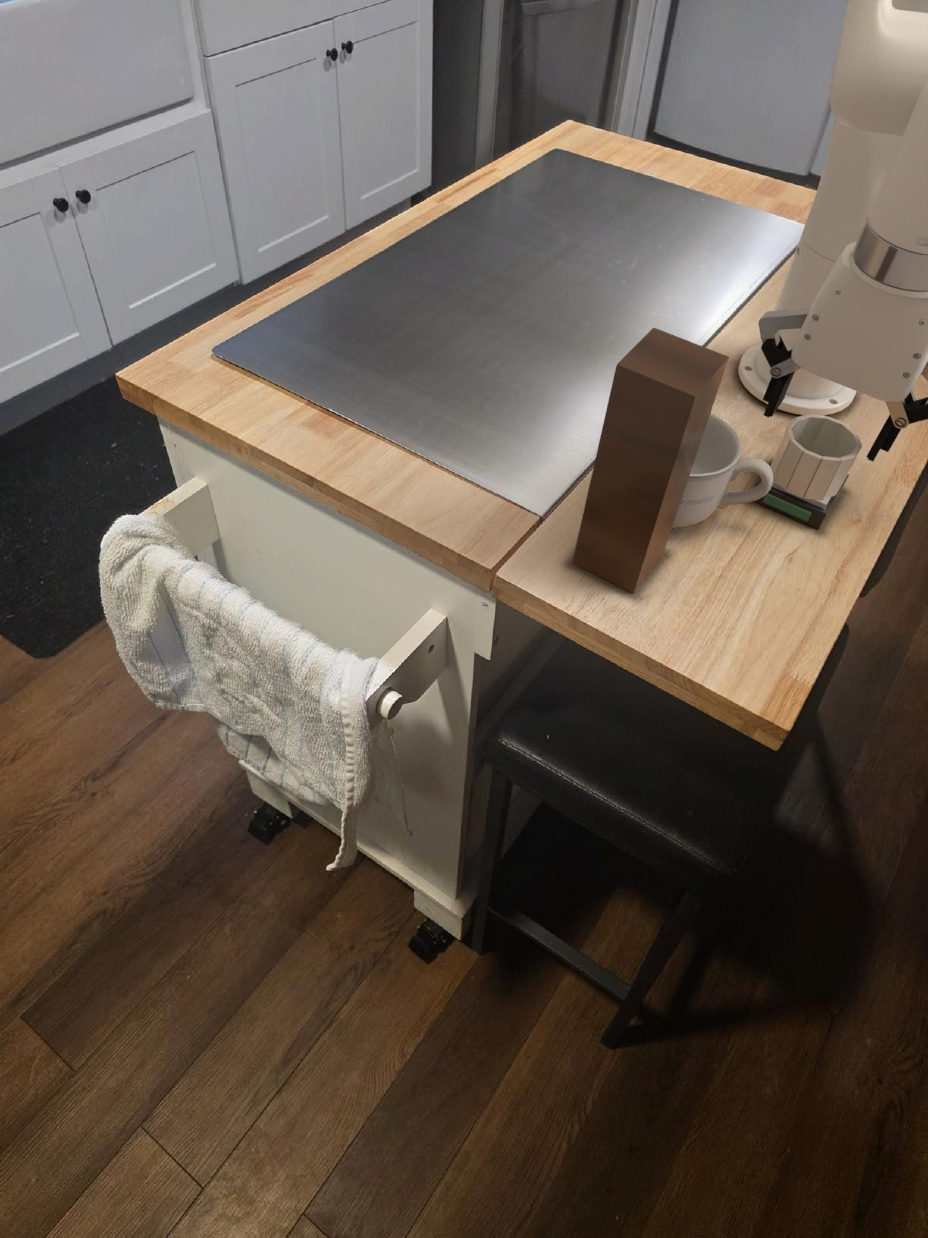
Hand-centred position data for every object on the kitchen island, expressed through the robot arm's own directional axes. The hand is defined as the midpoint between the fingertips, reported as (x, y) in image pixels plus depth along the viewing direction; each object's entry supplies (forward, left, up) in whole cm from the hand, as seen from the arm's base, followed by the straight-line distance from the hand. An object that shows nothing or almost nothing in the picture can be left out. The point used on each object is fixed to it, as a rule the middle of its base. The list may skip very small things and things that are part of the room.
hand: (822, 429), depth 79 cm
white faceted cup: (+1, +1, -4) cm, 5 cm away
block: (+19, -10, -7) cm, 22 cm away
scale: (+1, 0, -7) cm, 7 cm away
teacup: (+10, -8, -7) cm, 15 cm away
